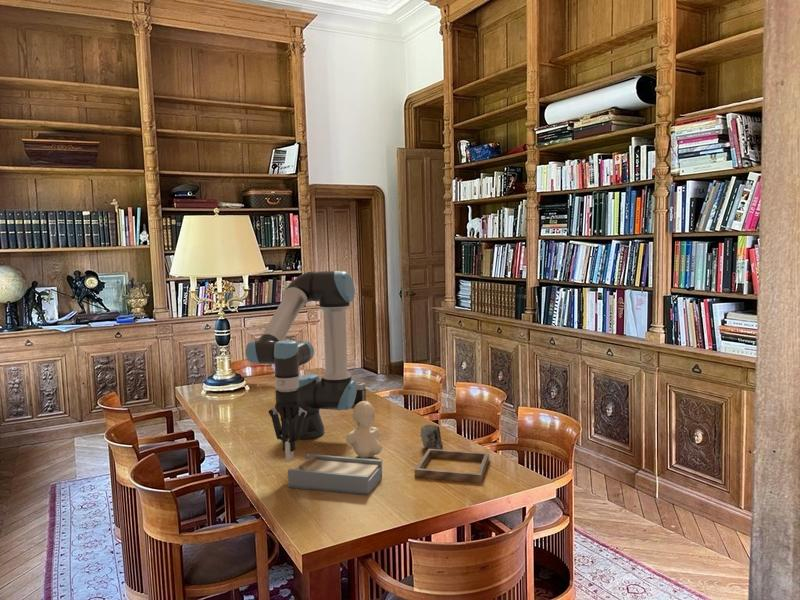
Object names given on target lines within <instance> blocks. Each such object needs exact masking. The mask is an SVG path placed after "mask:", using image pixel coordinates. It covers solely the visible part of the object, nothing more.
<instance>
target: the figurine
mask: <svg viewBox="0 0 800 600" xmlns="http://www.w3.org/2000/svg"><path fill="white" fill-rule="evenodd" d="M351 415H352V416H351V417H352V420H353V422H354V424H355V426H356V427H355V428H353V430H352V431H350V432H348V433H347V435H346V437H345V442H346V443H347V444H350V446H351V447H352V450H353V451H354V453H355V454H356V455H357V456H358V458H364V459H370V458H372V457H374V456H376V455H377V456H378V455H380V453H381V452H382V451H383V445H382V444H381V442H380V440H379V438H380V435H381V434H380V430H379V428H378V427H375V426H374V427H373V425H374V424H375V421H376V419H375V417H376V410H375V408H374V406H373V405H372V404H371V402H369V401H367V400H366V401H361V402H359V403H358V404H355V406H354V407H353V410H352V414H351Z"/></svg>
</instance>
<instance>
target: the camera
mask: <svg viewBox="0 0 800 600" xmlns="http://www.w3.org/2000/svg"><path fill="white" fill-rule="evenodd" d="M356 384H357V393H356V398H355V401H354V404H353V405H356V404H358V403H359V402H361V401H367V399H366V397H367V396H366V395H367V393H366V391H367V390H366V383H365V382H361V381H360V382H356Z"/></svg>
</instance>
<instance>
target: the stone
mask: <svg viewBox="0 0 800 600" xmlns="http://www.w3.org/2000/svg"><path fill="white" fill-rule="evenodd" d="M420 438H421V441H422V445H423V447H424V448H426V449H427V450H428V449H439V450H444V447H443V446H444V445H443V442H442V437H441V429H440V426H439V425H434V424H425V425H423V426H421V427H420Z"/></svg>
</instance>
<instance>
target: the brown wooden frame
mask: <svg viewBox="0 0 800 600" xmlns="http://www.w3.org/2000/svg"><path fill="white" fill-rule="evenodd" d="M431 458H440V459H453V460H464V461H465V460H466V461H474V462H475V461H477V462H481V464H480V465H479V468H478V471H477V472H467V471H466V472H465V471H454V470H442V469H430V468H425V467H426V466H427V464H428V463H429V461H430V460H431ZM489 461H490V453H487V452H477V451H462V450H461V451H460V450H450V449H443V450H439V449H428V448H427V450H426V451H425V453H424V454H423V456H422V457H421V459H420V461H419V462H418V463H417V465H416V467H415V469H414V478H424V479H436V480H444V481H445V480H446V481H456V482H457V481H458V482H466V483H468V482H470V483H480V484H481V483H482V481H483V478H484V475H485V472H486V469H487V467H488V464H489ZM427 462H428V463H427Z"/></svg>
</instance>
